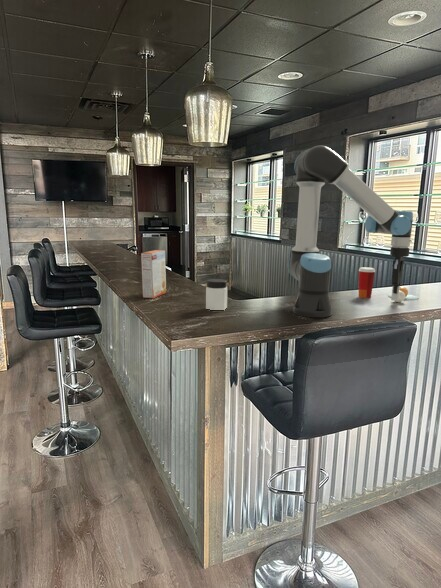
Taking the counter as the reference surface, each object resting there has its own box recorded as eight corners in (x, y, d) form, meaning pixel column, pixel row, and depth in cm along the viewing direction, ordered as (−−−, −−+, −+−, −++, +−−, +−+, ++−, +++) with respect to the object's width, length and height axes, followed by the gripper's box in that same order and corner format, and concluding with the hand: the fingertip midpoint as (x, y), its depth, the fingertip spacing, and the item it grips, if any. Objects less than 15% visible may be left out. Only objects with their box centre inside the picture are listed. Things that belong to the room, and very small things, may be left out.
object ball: (395, 285, 196) (397, 287, 200) (393, 296, 195) (395, 298, 200) (408, 286, 193) (409, 288, 198) (406, 297, 192) (407, 299, 197)
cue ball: (394, 287, 190) (393, 298, 192) (390, 292, 186) (389, 303, 188) (407, 289, 186) (406, 300, 189) (403, 294, 183) (402, 305, 185)
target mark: (384, 297, 198) (384, 297, 198) (390, 292, 209) (390, 292, 209) (416, 301, 190) (416, 300, 190) (420, 296, 202) (420, 295, 202)
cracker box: (155, 292, 203) (154, 249, 199) (166, 293, 201) (166, 250, 197) (141, 297, 190) (140, 252, 186) (153, 298, 188) (152, 252, 184)
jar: (224, 306, 176) (224, 278, 173) (229, 310, 168) (230, 281, 165) (203, 307, 173) (204, 279, 171) (208, 311, 166) (208, 282, 163)
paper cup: (370, 295, 201) (373, 267, 199) (375, 299, 194) (377, 269, 191) (354, 295, 202) (356, 266, 199) (357, 298, 195) (360, 269, 192)
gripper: (406, 248, 171) (401, 304, 176) (412, 246, 182) (406, 298, 186) (387, 247, 175) (382, 301, 180) (394, 245, 186) (388, 296, 190)
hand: (394, 300), depth 183 cm, fingers closed
